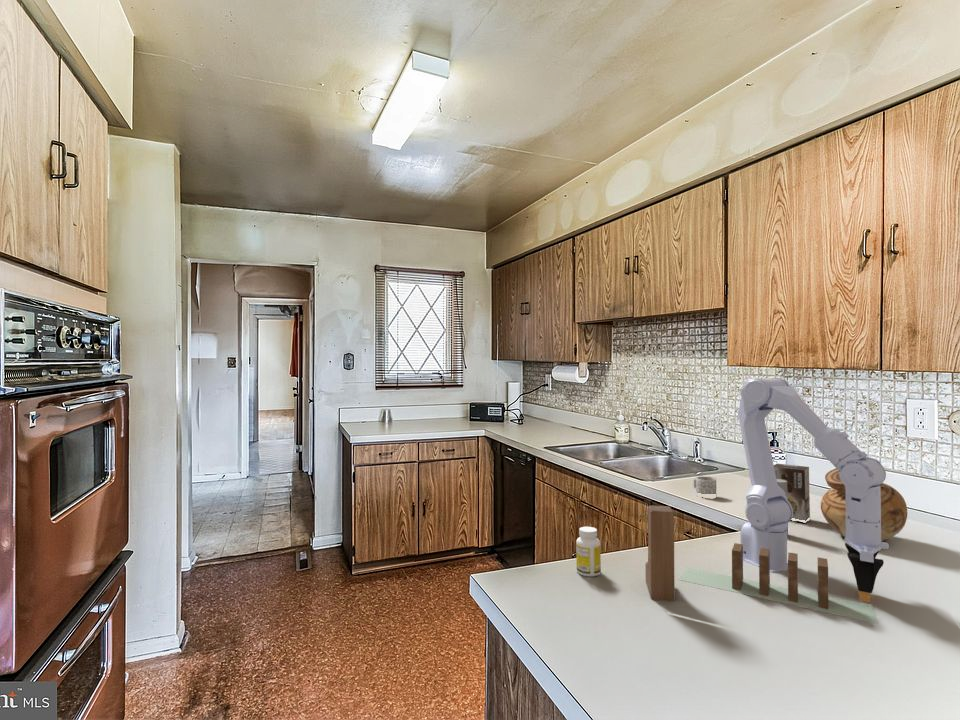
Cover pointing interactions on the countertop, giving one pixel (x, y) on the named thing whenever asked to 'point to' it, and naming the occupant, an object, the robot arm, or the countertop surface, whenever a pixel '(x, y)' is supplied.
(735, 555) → the domino
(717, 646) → the countertop surface
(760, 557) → the domino
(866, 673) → the countertop surface
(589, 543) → the supplement bottle
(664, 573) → the wooden block
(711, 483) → the mug
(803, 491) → the coffee box
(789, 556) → the domino
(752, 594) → the mat
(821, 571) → the domino
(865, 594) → the orange domino
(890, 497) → the clay pot
